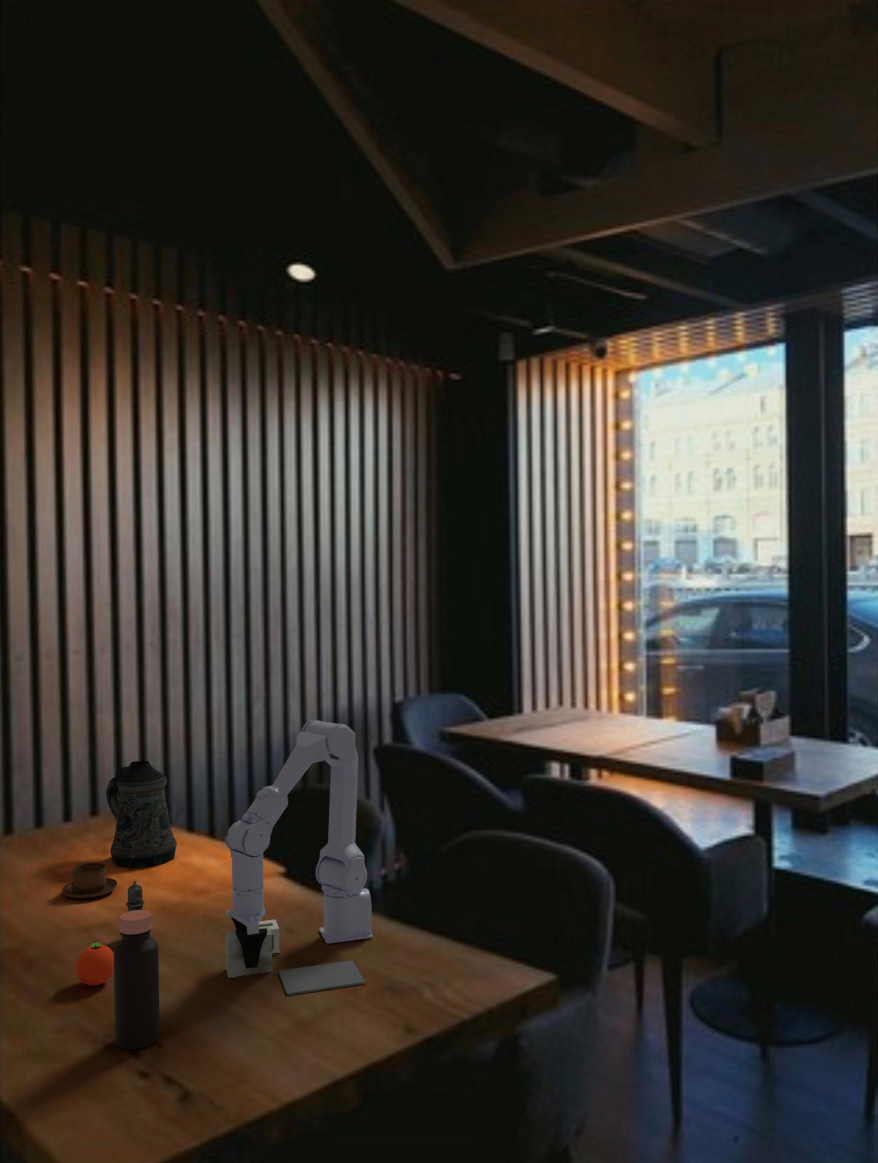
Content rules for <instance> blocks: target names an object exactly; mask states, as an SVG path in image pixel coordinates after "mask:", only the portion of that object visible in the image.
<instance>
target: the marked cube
mask: <svg viewBox="0 0 878 1163" xmlns="http://www.w3.org/2000/svg"><path fill="white" fill-rule="evenodd" d="M264 927H269V929H270V931H271V934H272V953H279V954H280V927H279V925H278V923H277V920H276V919H269V920H261V921H260V922H259V928H264Z"/></svg>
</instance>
